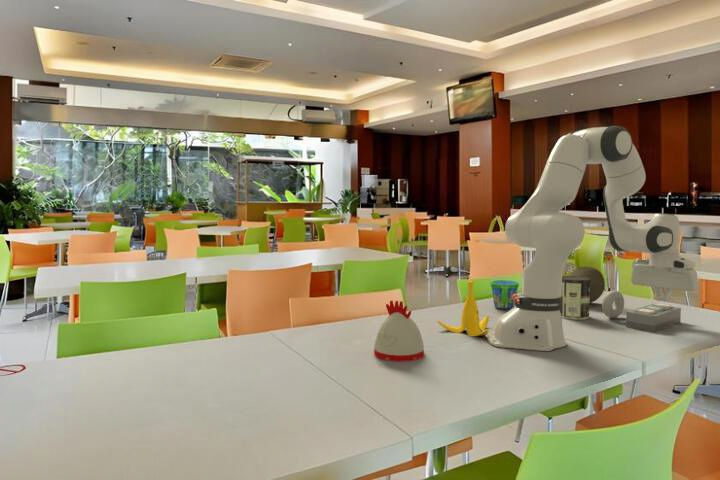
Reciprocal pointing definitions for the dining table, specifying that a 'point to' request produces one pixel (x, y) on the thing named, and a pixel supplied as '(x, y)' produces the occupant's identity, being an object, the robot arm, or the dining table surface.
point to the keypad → (653, 319)
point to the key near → (646, 311)
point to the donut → (608, 306)
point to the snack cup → (504, 293)
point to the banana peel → (470, 317)
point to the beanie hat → (398, 336)
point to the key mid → (655, 308)
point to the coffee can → (575, 297)
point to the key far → (663, 306)
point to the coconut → (592, 281)
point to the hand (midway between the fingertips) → (662, 300)
